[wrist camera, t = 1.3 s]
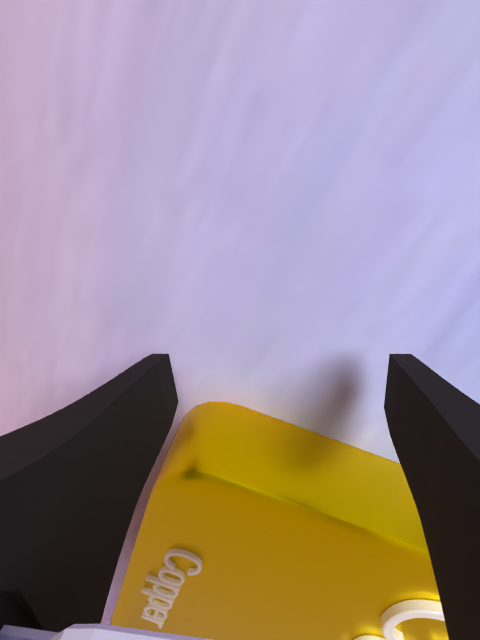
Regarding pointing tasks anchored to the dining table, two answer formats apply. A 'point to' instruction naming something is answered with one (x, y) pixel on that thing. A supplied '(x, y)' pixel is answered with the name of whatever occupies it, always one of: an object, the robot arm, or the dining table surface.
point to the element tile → (278, 539)
